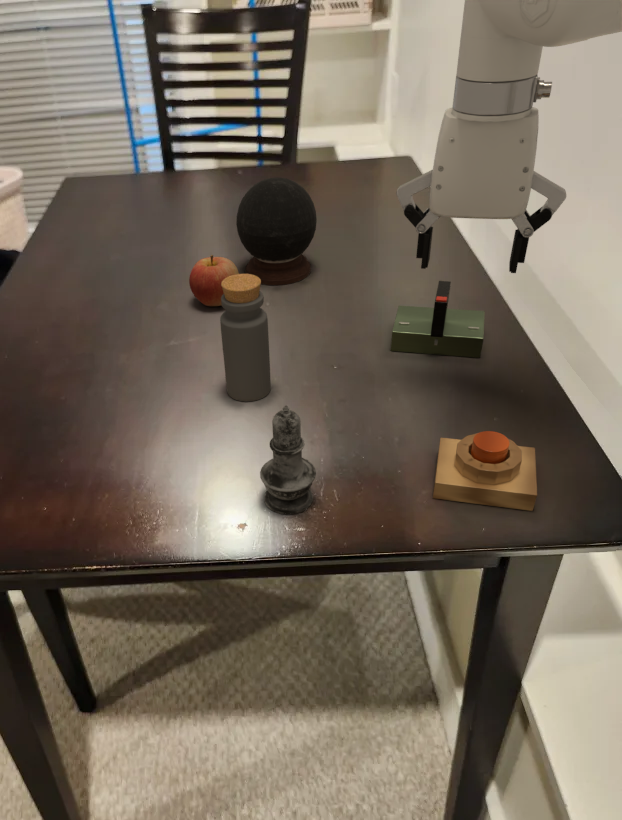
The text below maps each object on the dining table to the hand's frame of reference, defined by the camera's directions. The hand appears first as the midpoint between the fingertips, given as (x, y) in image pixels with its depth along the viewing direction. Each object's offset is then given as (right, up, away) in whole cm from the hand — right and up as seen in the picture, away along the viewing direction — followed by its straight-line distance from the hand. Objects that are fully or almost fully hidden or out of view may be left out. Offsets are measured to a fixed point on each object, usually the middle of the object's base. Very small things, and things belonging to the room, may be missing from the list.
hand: (468, 266), depth 79 cm
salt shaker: (-21, -27, -4) cm, 34 cm away
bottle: (-25, -12, +13) cm, 31 cm away
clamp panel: (+1, -5, +18) cm, 19 cm away
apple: (-30, +5, +32) cm, 45 cm away
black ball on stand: (-20, +13, +40) cm, 46 cm away
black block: (+1, -3, +16) cm, 16 cm away
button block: (0, -25, -4) cm, 25 cm away
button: (0, -22, -6) cm, 23 cm away
